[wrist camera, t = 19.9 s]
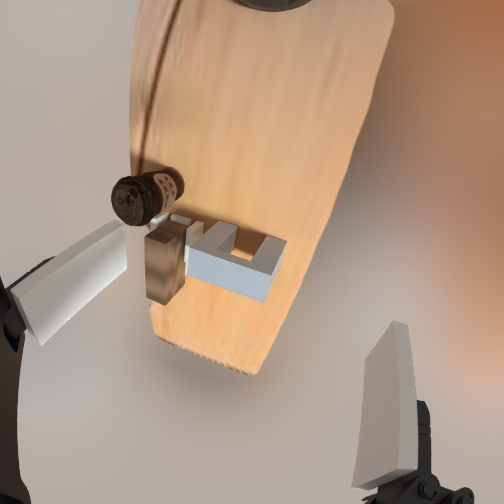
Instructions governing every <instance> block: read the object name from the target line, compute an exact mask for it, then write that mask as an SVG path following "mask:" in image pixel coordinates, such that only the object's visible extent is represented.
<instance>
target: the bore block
mask: <svg viewBox="0 0 504 504" xmlns="http://www.w3.org/2000/svg"><path fill="white" fill-rule="evenodd" d="M237 228H238V226H236V225H233V224H230V223H227V222H224V221H220V220H219V221H218V222H217V223H216V224H215V225H213V226H212V227H211V228H210V229H209V230H208V231H207V232H206V233H204V234H203V235H202V236H201V237H200V238H199V239H198V240H197V241H196V242H194V243H193V244H192V245H191V246H190V247H189V255H188V268H187V275H190V276H192V277H195V278H198V279H200V280H203V281H206V282H208V283H211V284H214V285H216V286H219V287H222V288H224V289H227V290H230V291H233V292H235V293H238V294H241V295H244V296H246V297H249V298H252V299H255V300H258V301H261V302H264V300H265V298H266V296H267V294H268V292H269V289H270V287H271V285H272V283H273V281H274V278H275V276H276V274H277V272H278V269H279V267H280V265H281V261H282V258H283V254H284V251H285V247H286V244H287V241H284V240H281V239H277V238H274V237H271V236H268V235H267V237H266V238H265V240H264V241H263V243H262V244H261V246H260V247H259V249H258V251H257V252H256V254H255V255H254V257H253V258H252V260H251V261H248V260H245V259H243V258H240V257H237V256H234V255H231V252H232V251H233V250H234V244H235V239H236V234H237Z"/></svg>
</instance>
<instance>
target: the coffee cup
mask: <svg viewBox="0 0 504 504" xmlns="http://www.w3.org/2000/svg"><path fill="white" fill-rule="evenodd" d="M183 192H184V181H183V178H182V176H181V175H180V173H179V172H178V171H177V170H175V169H174V168H172V167H169V168H164V169H163V170H161V171H156V172H147V173H143V174H141V175H138V176H134V177H133V176H127V177H123V178H122V179H120V180H119V181H118V182H117V184H116V185H115V186H114V188H113V191H112V195H111V201H112V206H113V209H114V211H115V213H116V214H117V216H118V217H119V218H120V219H121V220H122V221H124V222H125V223H126V224H127V225H130V226H143V225H145V224H147V223H149V222H150V221H151V220H152V219H153V218H154V217H155V216H157V215H158V214H160V213H161V212H163V211H164V210H165V209H167V208H168V207H169V206H171V204H172V203H173V202H174V201H175V200H177V199H179V198H180V197H181V196H182V194H183Z"/></svg>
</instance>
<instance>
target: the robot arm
mask: <svg viewBox="0 0 504 504" xmlns="http://www.w3.org/2000/svg"><path fill="white" fill-rule="evenodd" d="M240 1H241V2H242V3H244V4H245V5H247V6H249V7H251V8H254V9H257V10H261V11H270V12H278V11H286V10H291V9H294V8H297V7H300V6H302V5H304V4H306V3H308V2H309V1H311V0H240ZM126 269H127V262H126V243H125V224H124V223H121V222H119V221H116V220H113V221H111V222H109V223H107V224H106V225H104V226H102V227H101V228H99V229H97V230H96V231H94V232H93V233H91V234H89V235H88V236H86V237H85V238H83V239H81V240H80V241H78V242H77V243H75V244H74V245H72V246H71V247H69V248H68V249H66V250H65V251H63V252H62V253H60V254H59V255H57V256H56V257H55V256H54V257H51V258H49V259H46V260H44V261H43V262H41V263H40V264H39V265H37V267H34V268H33V269H31V270H30V272H27V273H26V274H24V275H23V276H22V277H21V278H19V279H18V280H16V281H15V282H14V283H13V284H11V285H10V286H9V287H7V288H6V289H5V288H4V285H3V283H2V280H1V277H0V504H31V500H30V495H29V492H28V489H27V487H26V486H25V484H24V483H23V481H22V479H21V476H20V469H19V458H18V442H17V406H18V389H19V378H20V368H21V361H22V354H23V347H24V341H25V333H24V331H25V330H26V329H28V332H29V334H30V336H31V337H32V338H33V339H34V340H35V341H36V342H37V343H38V344H39V345H40V346H42V345H43V344H44V343H45V342H46V341H47V340H48V339H49V338H50V337H51V336H52V335H53V334H54V333H55V332H56V331H57V330H58V329H60V328H61V327H62V326H63V325H64V324H65V323H66V322H67V321H68V320H69V319H70V318H71V317H72V316H73V315H75V314H76V313H77V312H78V311H79V310H80V309H81V308H82V307H83V306H84V305H85V304H87V303H88V302H89V301H90V300H91V299H92V298H93V297H94V296H96V294H98V293H99V292H100V291H101V290H102V289H104V288H105V287H106V286H107V285H108V284H109V283H111V282H112V281H113V280H114V279H115V278H117V277H118V276H119V275H120V274H121V273H122V272H124V271H125V270H126ZM430 429H431V428H430V413H429V410H428V408H427V405H426V403H425V402H424V401H419V400H416V387H415V377H414V368H413V359H412V352H411V345H410V338H409V332H408V326H407V325H405V324H402V323H399V322H396V321H393V322H392V323H391V324H390V326H389V328H388V329H387V330H386V332H385V333H384V335H383V336H382V337H381V339H380V340H379V341H378V343H377V344H376V346H375V347H374V348H373V350H372V351H371V352H370V354H369V355H368V356H367V357H366V359H365V371H364V391H363V405H362V416H361V426H360V436H359V443H358V451H357V458H356V465H355V470H354V476H353V482H352V487H351V488H352V489H361V490H371V489H373V488H376V487H378V492H377V493H376V494H373V495H370V496H367V497H365V498H363V499H362V501H366V500H368V501H367V502H366V503H365V504H474V494H473V492H472V490H470V489H469V488H466V487H464V488H461V489H459V490H456V491H452V490H449V489H447V488H444V487H441V486H440V483H439V480H438V479H437V477H436V476H434V475H433V474H432V473H431V437H430V435H431V430H430Z"/></svg>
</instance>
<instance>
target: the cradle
mask: <svg viewBox="0 0 504 504" xmlns="http://www.w3.org/2000/svg"><path fill="white" fill-rule="evenodd" d="M171 220H172V221H175V222H178V223H181V224H184V225H187V226H189V228H187V231H186V244H185V258H184V262H186V269H185V276H186V275H187V265H188V255H189V247H190V246H191V245H192V244H193V243H194V242H196V241H197V240H198V239H199V238H200V237H201V236H202V235H203V229H204V223H202V222H199V221H196V222H195V223H194V224H192V225H191V219H190V218H186V217H183V216H180V215H177V214H172V215H171ZM166 221H168V212H167V211H163V212H161V213H160V214H158V215H157V216H155V217H154V218H153V219H152V220H151V221H150V232H152V231H153V230H155V229H156V228H157V227H159V226H160V225H162V224H163V223H165V222H166Z"/></svg>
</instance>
